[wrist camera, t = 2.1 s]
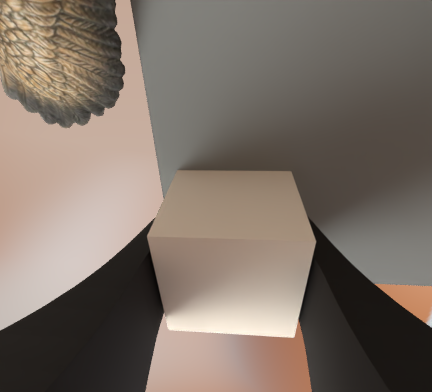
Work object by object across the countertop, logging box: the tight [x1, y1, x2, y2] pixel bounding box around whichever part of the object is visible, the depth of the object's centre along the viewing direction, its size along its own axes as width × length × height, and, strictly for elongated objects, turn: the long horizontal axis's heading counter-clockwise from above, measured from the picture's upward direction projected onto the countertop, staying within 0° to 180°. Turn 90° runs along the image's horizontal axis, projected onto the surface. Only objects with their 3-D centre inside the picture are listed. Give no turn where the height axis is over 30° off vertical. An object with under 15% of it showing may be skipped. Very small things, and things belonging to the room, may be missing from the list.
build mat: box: [131, 0, 432, 286], centre depth 9 cm, size 18×16×1 cm
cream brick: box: [147, 170, 316, 338], centre depth 10 cm, size 4×4×4 cm
